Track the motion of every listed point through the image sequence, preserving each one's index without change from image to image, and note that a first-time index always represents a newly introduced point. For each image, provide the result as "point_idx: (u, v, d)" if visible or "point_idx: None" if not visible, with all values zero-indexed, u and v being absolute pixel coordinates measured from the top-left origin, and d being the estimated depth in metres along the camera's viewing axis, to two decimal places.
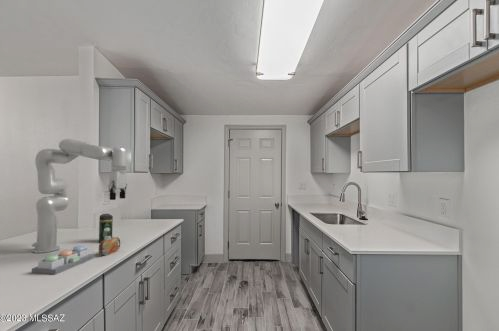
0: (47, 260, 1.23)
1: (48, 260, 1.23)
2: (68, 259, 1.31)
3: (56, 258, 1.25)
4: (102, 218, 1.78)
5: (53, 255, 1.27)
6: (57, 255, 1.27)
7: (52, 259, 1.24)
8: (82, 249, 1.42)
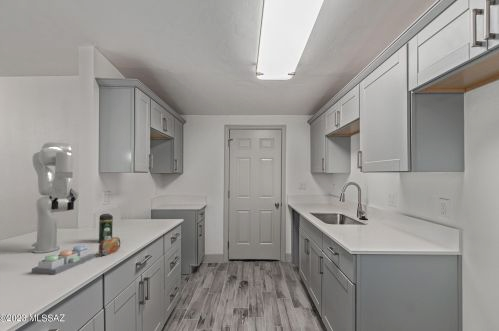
0: (47, 260, 1.23)
1: (48, 260, 1.23)
2: (68, 259, 1.31)
3: (56, 258, 1.25)
4: (102, 218, 1.78)
5: (53, 255, 1.27)
6: (57, 255, 1.27)
7: (52, 259, 1.24)
8: (82, 249, 1.42)
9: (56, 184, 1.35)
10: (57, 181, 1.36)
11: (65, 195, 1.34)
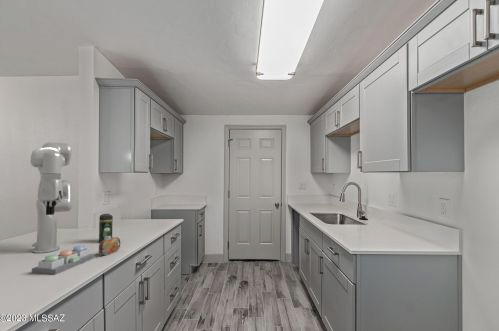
0: (47, 260, 1.23)
1: (48, 260, 1.23)
2: (68, 259, 1.31)
3: (56, 258, 1.25)
4: (102, 218, 1.78)
5: (53, 255, 1.27)
6: (57, 255, 1.27)
7: (52, 259, 1.24)
8: (82, 249, 1.42)
9: (44, 186, 1.31)
10: (44, 183, 1.32)
11: (54, 197, 1.31)
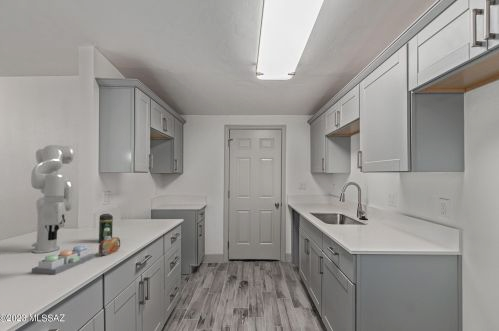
0: (47, 260, 1.23)
1: (48, 260, 1.23)
2: (68, 259, 1.31)
3: (56, 258, 1.25)
4: (102, 218, 1.78)
5: (53, 255, 1.27)
6: (57, 255, 1.27)
7: (52, 259, 1.24)
8: (82, 249, 1.42)
9: (46, 209, 1.24)
10: (46, 206, 1.24)
11: (56, 222, 1.23)
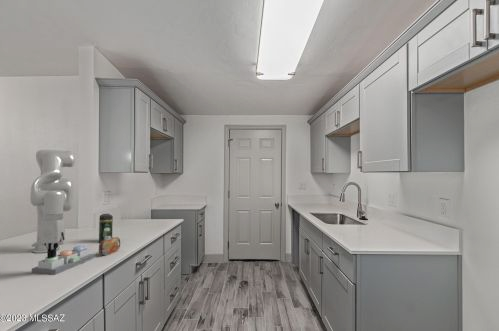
0: (47, 261, 1.23)
1: (48, 261, 1.23)
2: (68, 259, 1.31)
3: (56, 259, 1.25)
4: (102, 218, 1.78)
5: None
6: (57, 256, 1.27)
7: (52, 260, 1.24)
8: (82, 249, 1.42)
9: (45, 228, 1.24)
10: (46, 224, 1.24)
11: (56, 240, 1.23)
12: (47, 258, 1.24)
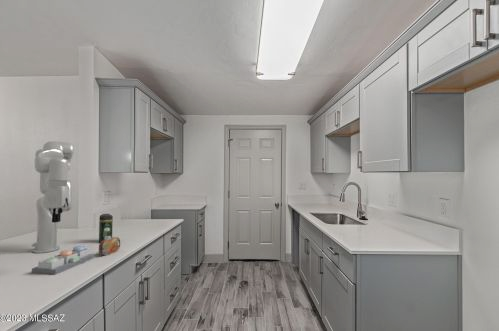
0: None
1: None
2: (68, 259, 1.31)
3: None
4: (102, 218, 1.78)
5: (53, 258, 1.27)
6: (57, 258, 1.27)
7: None
8: (82, 249, 1.42)
9: (50, 193, 1.28)
10: (50, 190, 1.28)
11: (60, 205, 1.27)
12: (47, 260, 1.24)
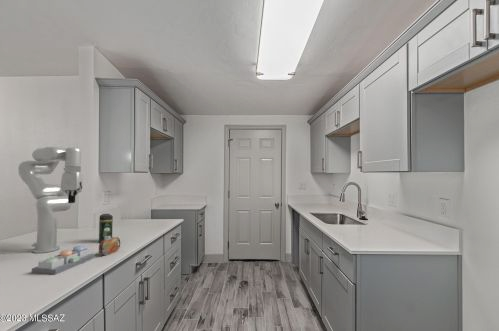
0: None
1: None
2: (68, 259, 1.31)
3: None
4: (102, 218, 1.78)
5: (53, 258, 1.27)
6: (57, 258, 1.27)
7: None
8: (82, 249, 1.42)
9: (66, 177, 1.48)
10: (67, 174, 1.48)
11: (75, 187, 1.47)
12: (47, 260, 1.24)
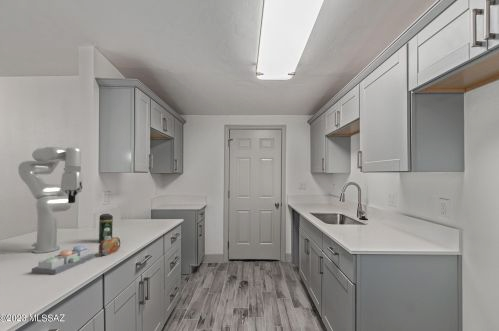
0: None
1: None
2: (68, 259, 1.31)
3: None
4: (102, 218, 1.78)
5: (53, 258, 1.27)
6: (57, 258, 1.27)
7: None
8: (82, 249, 1.42)
9: (66, 177, 1.48)
10: (67, 174, 1.48)
11: (75, 187, 1.47)
12: (47, 260, 1.24)
